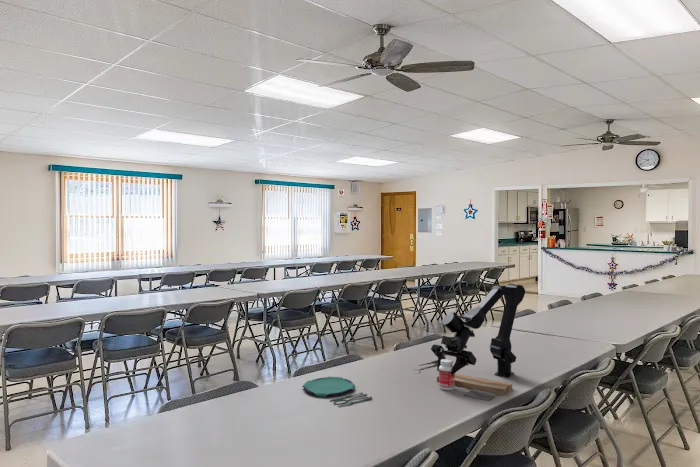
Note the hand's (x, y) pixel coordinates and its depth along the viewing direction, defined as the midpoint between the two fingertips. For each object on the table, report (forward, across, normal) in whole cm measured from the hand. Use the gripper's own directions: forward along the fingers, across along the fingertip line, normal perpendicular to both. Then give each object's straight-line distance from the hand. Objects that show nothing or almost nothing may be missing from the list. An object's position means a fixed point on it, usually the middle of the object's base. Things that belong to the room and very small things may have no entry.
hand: (444, 372), depth 191 cm
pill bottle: (+4, 0, +6) cm, 7 cm away
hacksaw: (-9, -23, +19) cm, 32 cm away
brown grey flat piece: (-1, +6, +10) cm, 12 cm away
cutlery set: (+28, -28, -18) cm, 44 cm away
